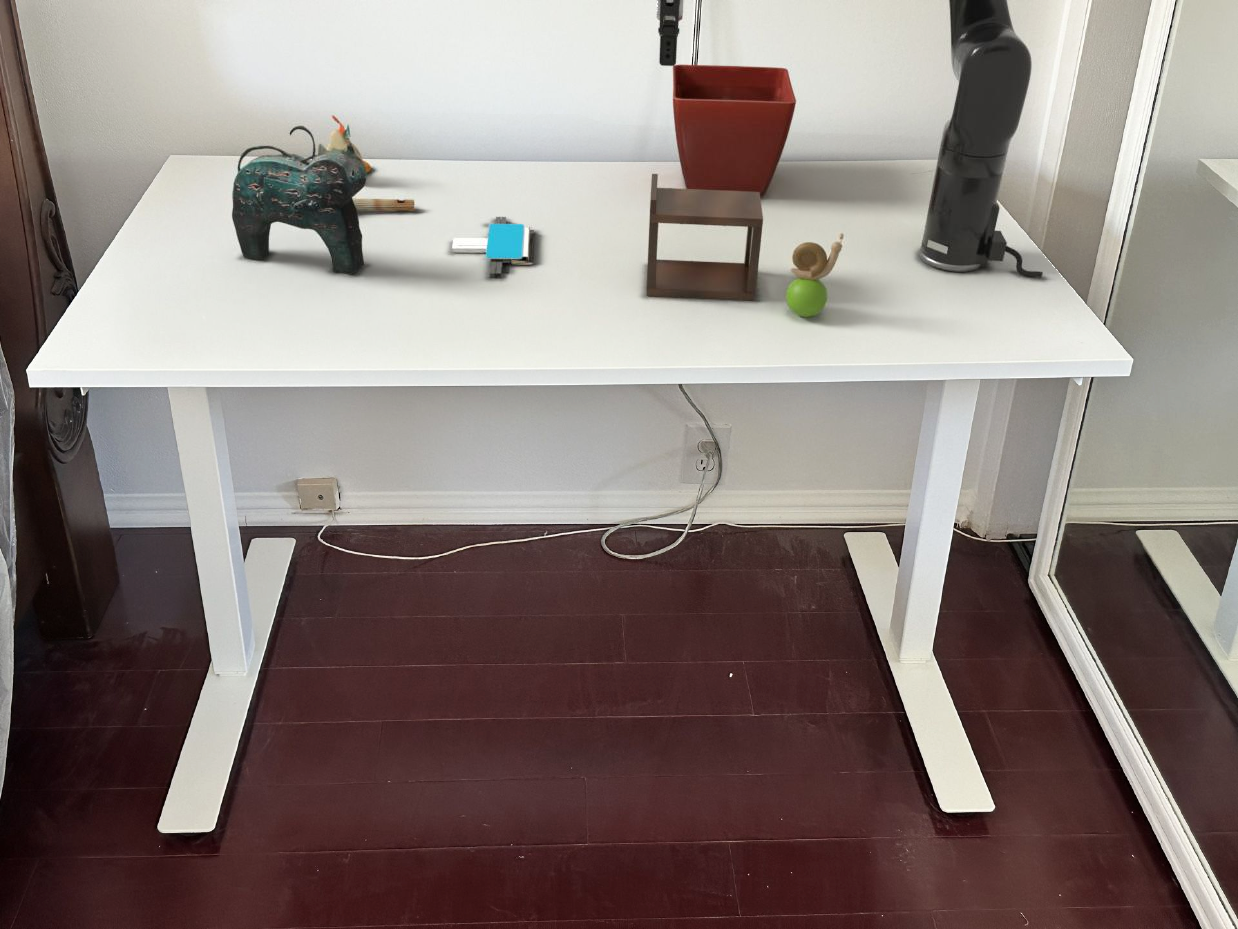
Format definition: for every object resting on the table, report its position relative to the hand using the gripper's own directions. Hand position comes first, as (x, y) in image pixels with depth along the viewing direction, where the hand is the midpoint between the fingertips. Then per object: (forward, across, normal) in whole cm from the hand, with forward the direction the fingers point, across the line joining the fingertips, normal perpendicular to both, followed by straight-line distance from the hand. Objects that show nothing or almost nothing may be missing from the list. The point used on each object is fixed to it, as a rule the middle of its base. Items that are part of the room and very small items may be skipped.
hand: (668, 55), depth 158 cm
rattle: (+28, +23, +51) cm, 62 cm away
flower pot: (+29, +28, -10) cm, 41 cm away
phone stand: (+28, -2, +25) cm, 38 cm away
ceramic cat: (+28, -10, +51) cm, 59 cm away
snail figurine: (+29, -19, -20) cm, 40 cm away
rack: (+28, -11, -6) cm, 31 cm away
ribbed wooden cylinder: (+28, +9, +49) cm, 57 cm away
